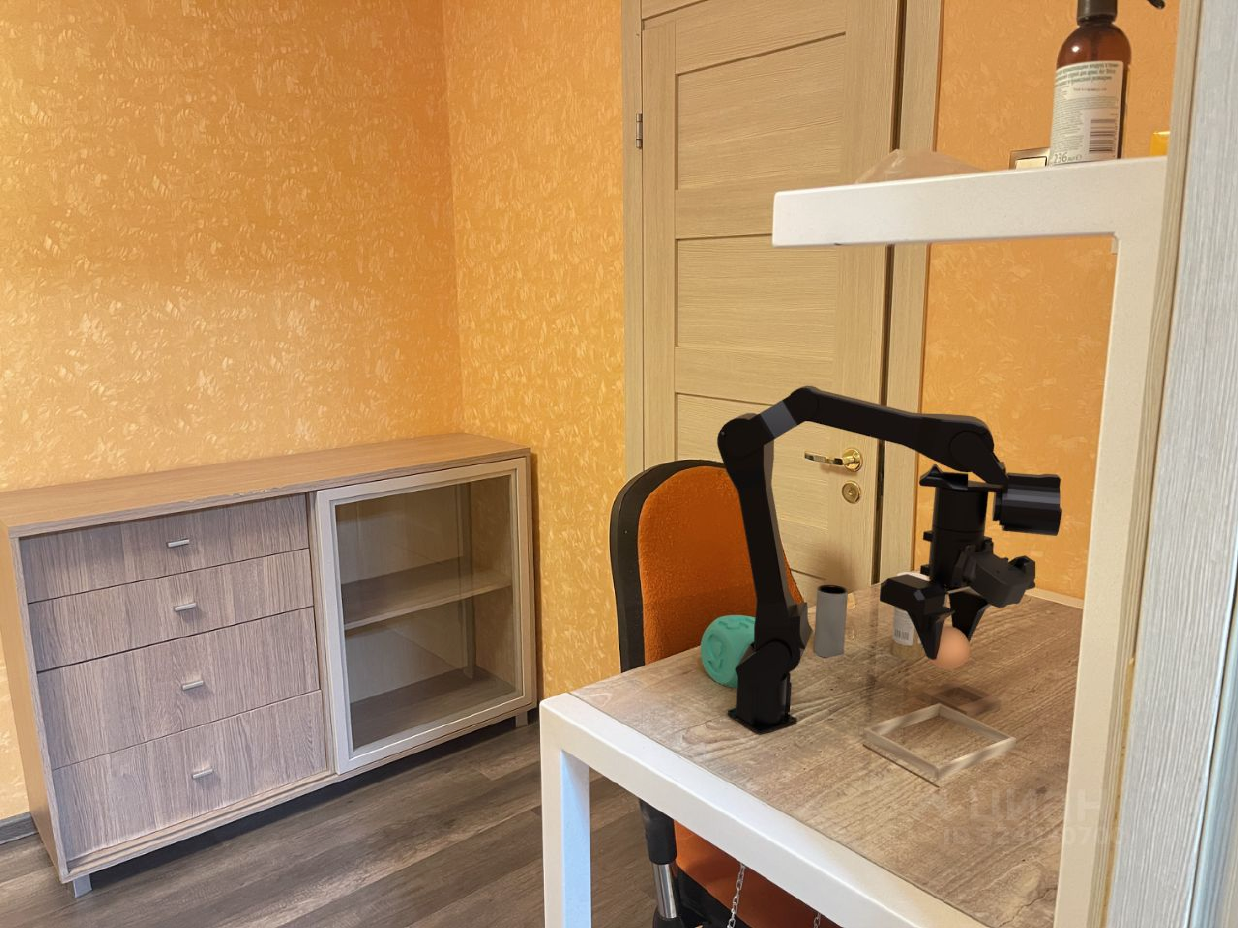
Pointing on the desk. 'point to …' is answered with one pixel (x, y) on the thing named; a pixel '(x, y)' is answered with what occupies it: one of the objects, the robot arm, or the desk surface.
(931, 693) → the brown flat square frame
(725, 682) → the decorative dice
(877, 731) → the tray
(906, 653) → the sprinkles bottle
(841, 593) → the grey hollow cylinder
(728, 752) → the desk surface
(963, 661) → the ball
